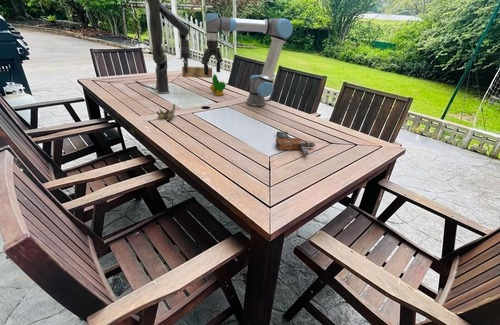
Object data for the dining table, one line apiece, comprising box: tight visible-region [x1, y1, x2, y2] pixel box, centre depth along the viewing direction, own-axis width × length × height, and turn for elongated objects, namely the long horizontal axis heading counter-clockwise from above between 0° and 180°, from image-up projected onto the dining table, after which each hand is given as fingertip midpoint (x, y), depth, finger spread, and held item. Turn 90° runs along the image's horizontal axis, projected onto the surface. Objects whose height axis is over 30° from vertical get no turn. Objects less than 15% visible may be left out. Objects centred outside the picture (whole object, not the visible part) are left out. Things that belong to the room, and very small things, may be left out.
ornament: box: [209, 73, 227, 96], centre depth 234 cm, size 21×8×15 cm, turn 42°
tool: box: [275, 131, 316, 157], centre depth 149 cm, size 4×27×30 cm
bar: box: [181, 65, 213, 79], centre depth 235 cm, size 26×6×8 cm, turn 97°
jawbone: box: [156, 103, 176, 122], centre depth 174 cm, size 9×15×10 cm
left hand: (186, 72), depth 233 cm, fingers closed on bar, 5 cm apart
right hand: (212, 73), depth 183 cm, fingers open, 13 cm apart
